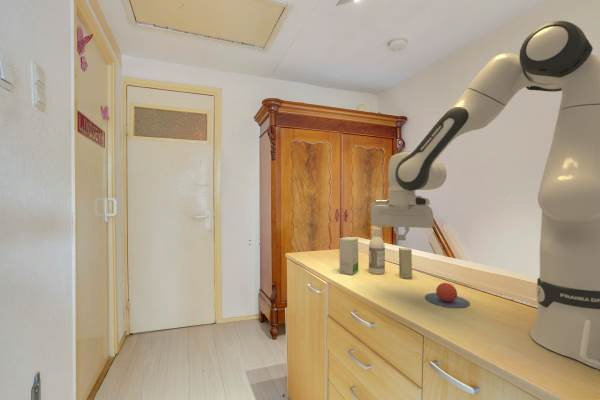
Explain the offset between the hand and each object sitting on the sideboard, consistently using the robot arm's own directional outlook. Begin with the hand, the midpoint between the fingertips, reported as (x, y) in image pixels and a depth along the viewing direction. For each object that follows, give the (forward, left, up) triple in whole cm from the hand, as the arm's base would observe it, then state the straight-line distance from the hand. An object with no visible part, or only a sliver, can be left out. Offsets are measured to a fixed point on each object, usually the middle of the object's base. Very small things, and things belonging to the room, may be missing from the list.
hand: (401, 240), depth 95 cm
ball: (-14, +1, -16) cm, 21 cm away
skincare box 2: (-2, -25, -19) cm, 32 cm away
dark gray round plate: (-14, 0, -19) cm, 24 cm away
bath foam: (+10, -28, -19) cm, 35 cm away
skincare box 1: (+22, -24, -19) cm, 38 cm away
